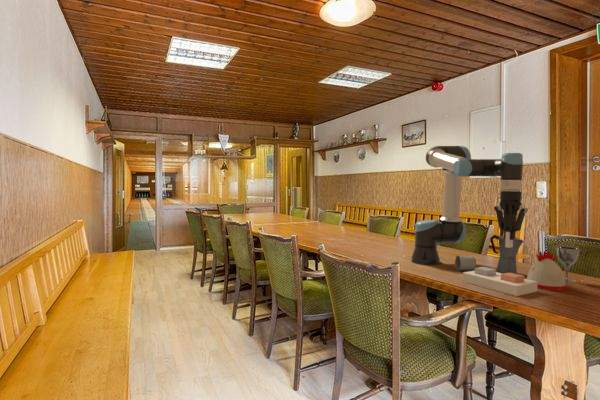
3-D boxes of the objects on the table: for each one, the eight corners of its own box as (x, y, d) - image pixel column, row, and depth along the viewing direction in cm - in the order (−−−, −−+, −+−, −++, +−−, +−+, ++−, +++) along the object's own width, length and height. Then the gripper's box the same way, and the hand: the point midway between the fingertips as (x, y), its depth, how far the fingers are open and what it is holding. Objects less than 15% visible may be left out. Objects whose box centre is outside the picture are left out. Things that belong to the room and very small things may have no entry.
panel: (462, 281, 159) (462, 272, 158) (482, 277, 165) (482, 269, 165) (516, 296, 137) (516, 286, 137) (537, 291, 144) (537, 281, 144)
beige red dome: (519, 281, 159) (520, 248, 159) (551, 281, 159) (552, 248, 158) (539, 290, 145) (540, 254, 145) (574, 290, 145) (575, 254, 144)
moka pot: (519, 277, 166) (520, 234, 165) (485, 271, 177) (486, 231, 177) (526, 273, 172) (527, 233, 171) (492, 268, 184) (493, 230, 183)
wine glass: (557, 277, 166) (558, 245, 165) (579, 280, 160) (580, 247, 159) (554, 280, 160) (555, 247, 159) (576, 284, 154) (577, 249, 154)
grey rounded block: (474, 275, 158) (474, 268, 158) (483, 274, 160) (483, 266, 160) (487, 279, 152) (487, 271, 152) (495, 277, 155) (496, 269, 155)
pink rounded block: (500, 282, 147) (500, 274, 147) (509, 280, 150) (509, 272, 150) (515, 286, 142) (515, 277, 142) (523, 284, 145) (524, 275, 144)
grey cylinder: (477, 272, 176) (477, 256, 175) (460, 272, 176) (460, 256, 176) (468, 267, 186) (468, 253, 186) (452, 267, 187) (452, 252, 186)
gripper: (490, 190, 150) (488, 245, 152) (521, 191, 139) (519, 250, 140) (501, 190, 154) (499, 243, 155) (532, 190, 142) (530, 249, 144)
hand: (508, 247), depth 148 cm, fingers closed
